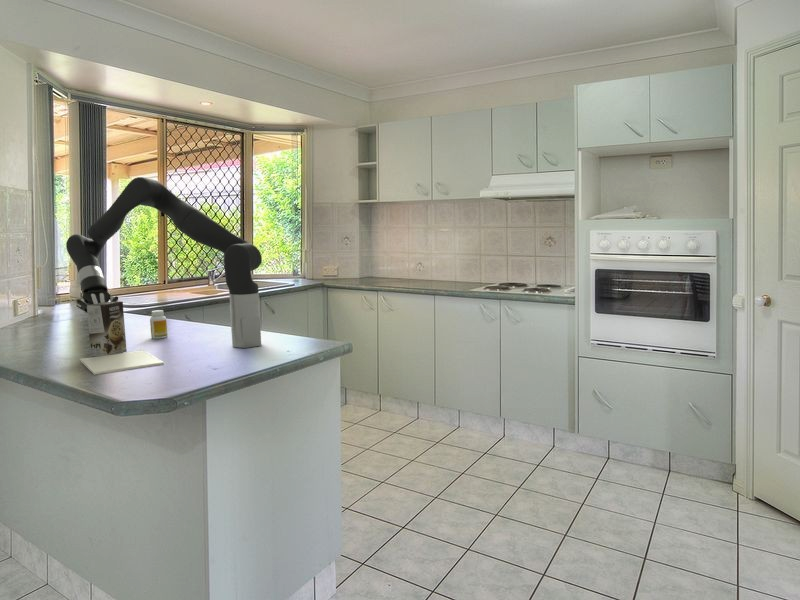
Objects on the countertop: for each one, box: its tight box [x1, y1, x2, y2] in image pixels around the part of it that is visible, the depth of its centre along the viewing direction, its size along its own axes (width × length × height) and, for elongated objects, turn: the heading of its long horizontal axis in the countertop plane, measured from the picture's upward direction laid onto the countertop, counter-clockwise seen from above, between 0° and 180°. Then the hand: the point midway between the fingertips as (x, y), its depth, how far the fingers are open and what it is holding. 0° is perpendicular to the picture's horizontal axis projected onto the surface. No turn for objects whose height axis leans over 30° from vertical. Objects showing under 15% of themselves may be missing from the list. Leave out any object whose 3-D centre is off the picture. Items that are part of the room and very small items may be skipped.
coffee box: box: [86, 301, 128, 357], centre depth 184 cm, size 9×6×16 cm
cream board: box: [79, 350, 165, 376], centre depth 172 cm, size 22×18×1 cm
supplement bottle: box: [149, 309, 168, 340], centre depth 211 cm, size 5×5×10 cm
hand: (103, 322), depth 189 cm, fingers closed
